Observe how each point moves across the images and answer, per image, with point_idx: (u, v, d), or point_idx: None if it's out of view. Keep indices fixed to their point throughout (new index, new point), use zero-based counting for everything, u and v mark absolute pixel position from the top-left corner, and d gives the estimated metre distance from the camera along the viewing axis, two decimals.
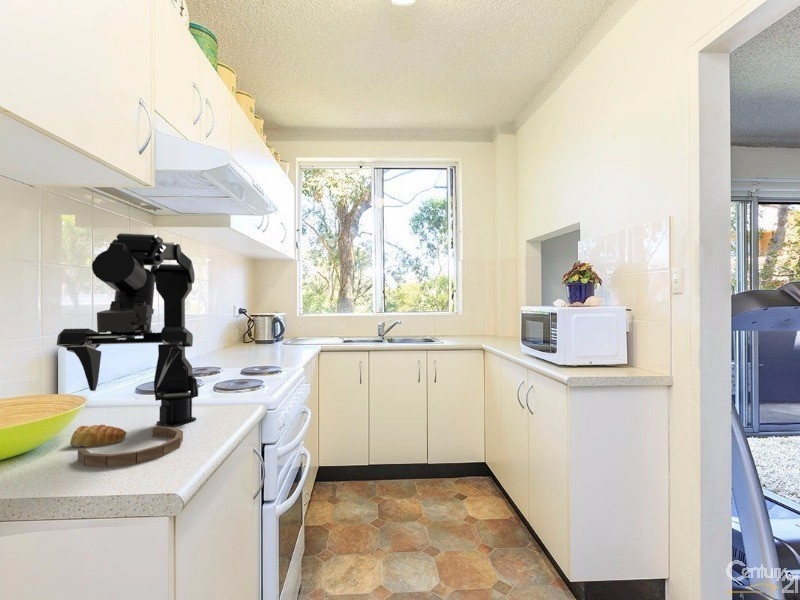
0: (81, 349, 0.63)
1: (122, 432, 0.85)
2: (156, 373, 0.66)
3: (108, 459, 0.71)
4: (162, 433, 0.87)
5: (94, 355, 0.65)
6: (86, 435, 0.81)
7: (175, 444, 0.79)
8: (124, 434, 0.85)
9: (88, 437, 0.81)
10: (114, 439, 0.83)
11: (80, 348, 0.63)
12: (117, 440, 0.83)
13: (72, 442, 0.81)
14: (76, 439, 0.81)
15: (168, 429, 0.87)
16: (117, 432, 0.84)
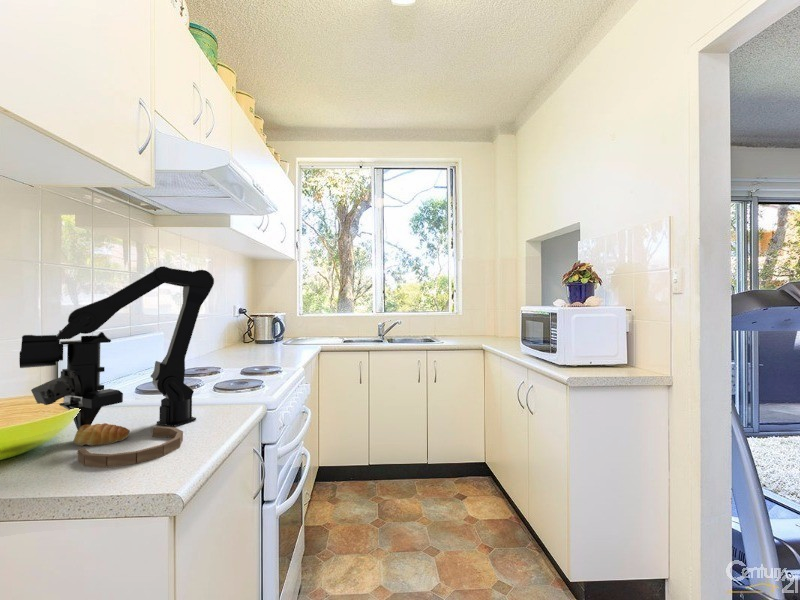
0: (65, 406, 0.84)
1: (125, 430, 0.86)
2: (78, 425, 0.85)
3: (108, 459, 0.71)
4: (162, 433, 0.87)
5: None
6: (90, 434, 0.82)
7: (175, 444, 0.79)
8: (127, 433, 0.86)
9: (92, 435, 0.82)
10: (118, 437, 0.84)
11: (64, 406, 0.84)
12: (121, 439, 0.84)
13: (76, 440, 0.81)
14: (80, 437, 0.81)
15: (168, 429, 0.87)
16: (120, 431, 0.85)
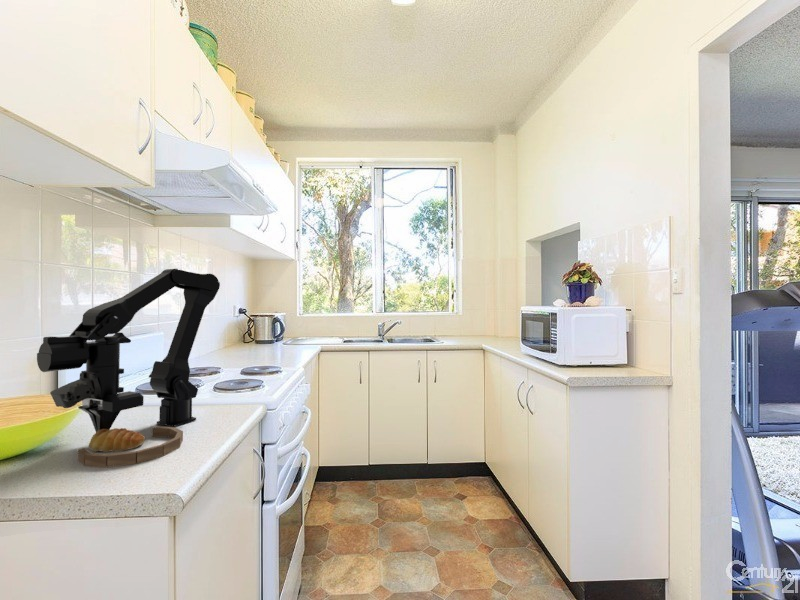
0: (84, 409, 0.82)
1: (140, 437, 0.81)
2: (97, 428, 0.82)
3: (108, 459, 0.71)
4: (162, 433, 0.87)
5: None
6: (104, 439, 0.78)
7: (175, 444, 0.79)
8: (142, 440, 0.81)
9: (105, 441, 0.78)
10: (131, 445, 0.79)
11: (83, 409, 0.81)
12: (134, 446, 0.80)
13: (90, 446, 0.78)
14: (94, 443, 0.78)
15: (168, 429, 0.87)
16: (134, 438, 0.80)
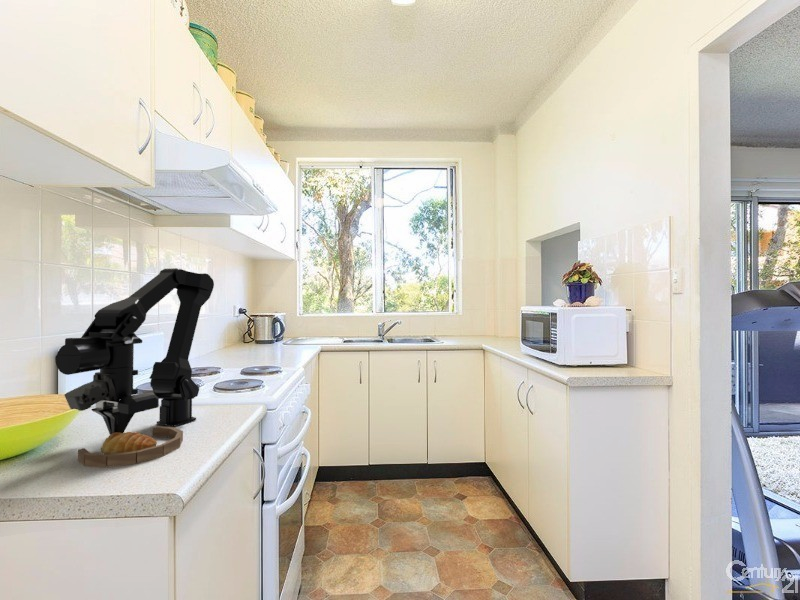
0: (98, 412, 0.80)
1: (152, 442, 0.79)
2: (112, 431, 0.81)
3: (108, 459, 0.71)
4: (162, 433, 0.87)
5: None
6: (115, 444, 0.76)
7: (175, 444, 0.79)
8: (153, 445, 0.79)
9: (117, 446, 0.76)
10: None
11: (97, 411, 0.80)
12: None
13: (102, 450, 0.76)
14: (105, 447, 0.76)
15: (168, 429, 0.87)
16: (145, 443, 0.78)
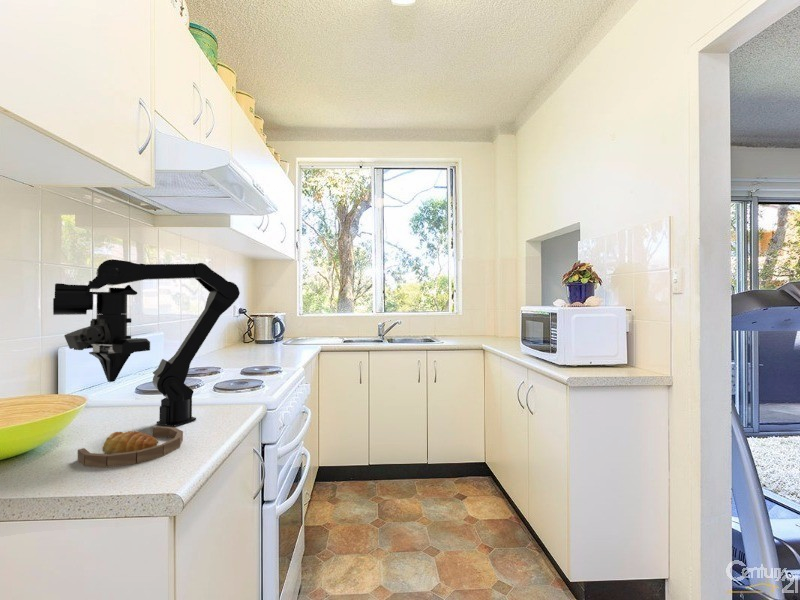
0: (94, 354, 0.88)
1: (153, 441, 0.79)
2: (107, 372, 0.89)
3: (108, 459, 0.71)
4: (162, 433, 0.87)
5: None
6: (117, 443, 0.77)
7: (175, 444, 0.79)
8: (155, 444, 0.79)
9: (118, 445, 0.76)
10: None
11: (93, 354, 0.88)
12: None
13: (103, 449, 0.76)
14: (107, 446, 0.76)
15: (168, 429, 0.87)
16: (147, 442, 0.78)
